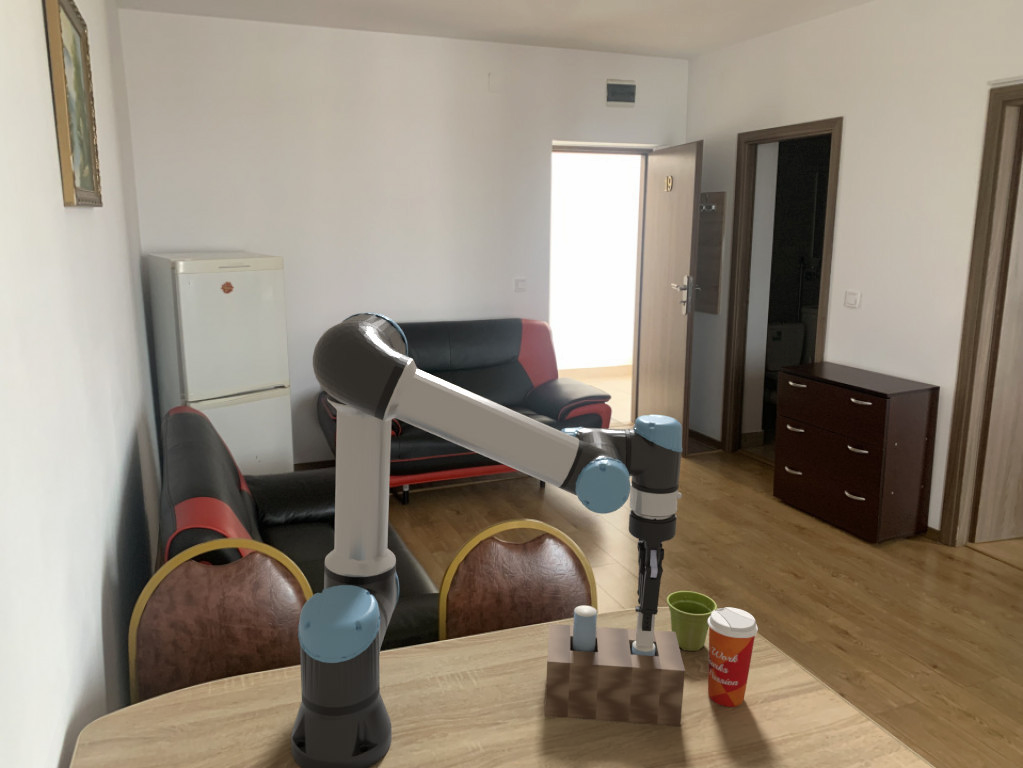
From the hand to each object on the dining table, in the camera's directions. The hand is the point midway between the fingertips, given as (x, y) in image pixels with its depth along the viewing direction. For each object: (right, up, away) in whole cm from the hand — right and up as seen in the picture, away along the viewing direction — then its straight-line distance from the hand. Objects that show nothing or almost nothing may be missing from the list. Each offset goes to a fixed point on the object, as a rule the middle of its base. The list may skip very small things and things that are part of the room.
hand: (644, 643), depth 130 cm
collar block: (-5, -10, +3) cm, 12 cm away
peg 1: (-10, -4, +2) cm, 11 cm away
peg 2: (0, -10, +2) cm, 10 cm away
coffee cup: (+15, -11, +4) cm, 19 cm away
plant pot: (+12, -7, +21) cm, 25 cm away
